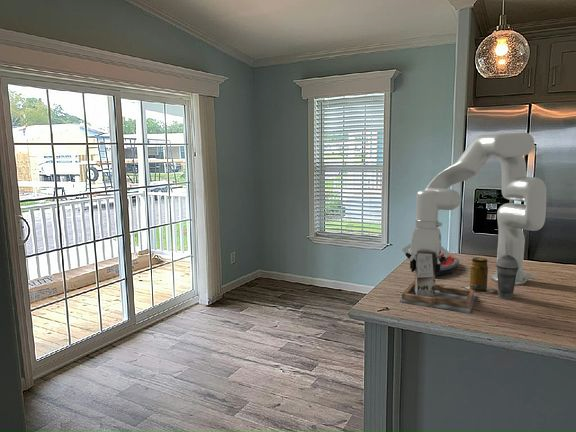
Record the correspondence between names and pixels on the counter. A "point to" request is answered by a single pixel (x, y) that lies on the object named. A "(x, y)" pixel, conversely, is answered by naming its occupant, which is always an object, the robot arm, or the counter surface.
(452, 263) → the dish
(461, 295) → the wooden tray
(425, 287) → the coffee box
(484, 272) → the condiment
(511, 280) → the beverage cup
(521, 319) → the counter surface
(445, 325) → the counter surface
